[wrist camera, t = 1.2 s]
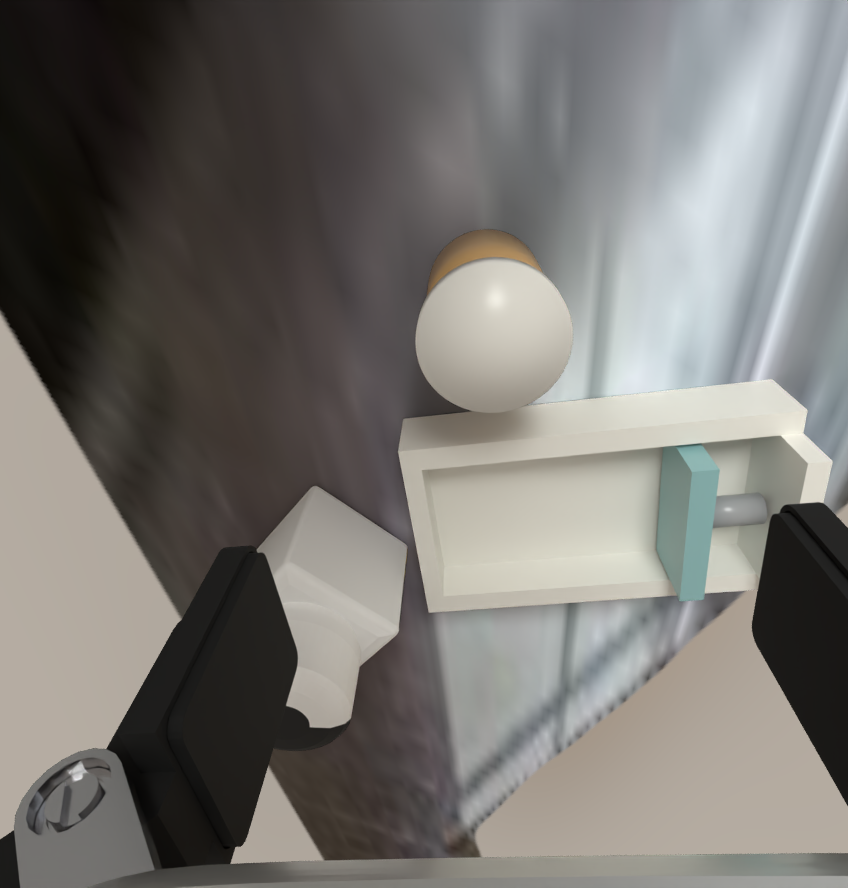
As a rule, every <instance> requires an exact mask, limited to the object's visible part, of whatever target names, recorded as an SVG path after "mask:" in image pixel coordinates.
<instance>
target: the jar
mask: <svg viewBox="0 0 848 888" xmlns="http://www.w3.org/2000/svg"><path fill="white" fill-rule="evenodd" d="M415 344H416V354H417V358H418V362H419V365H420V367H421V370H422V372H423V374H424V376H425V377H426V379H427V381H428V382H429V383H430V385H431V386H432V387H433V388H434V389H435V390H436V391H437V392H438V393H439V394H440V395H441V396H442V397H444V398H445V399H446V400H448V401H450V402H451V403H453V404H455V405H457V406H459V407H462V408H464V409H468V410H471V411H476V412H483V413H500V412H506V411H511V410H514V409H518V408H521V407H523V406H525V405H528V404H530V403H531V402H533V401H535V400H537V399H538V398H539V397H541V396H542V395H543V394H545V393H546V392H547V391H548V390H549V389H550V388H551V387H552V386H553V385H554V384H555V383H556V381H557V380H558V379H559V377H560V376H561V374H562V373H563V371H564V369H565V367H566V365H567V363H568V360H569V357H570V354H571V349H572V344H573V328H572V321H571V317H570V313H569V311H568V308H567V306H566V304H565V302H564V300H563V298H562V296H561V295H560V293H559V291H558V289H557V288H556V287H555V285H554V284H553V283H552V282H551V280H550V279H549V278H548V277H546V276H545V275H544V274H543V272H542V270H541V268H540V266H539V264H538V262H537V261H536V259H535V257H534V255H533V253H532V252H531V251H530V250H529V248H528V247H527V246H526V245H525V244H524V243H523V242H522V241H520V240H519V239H518V238H516V237H514V236H512V235H510V234H508V233H505V232H503V231H498V230H490V229H484V230H476V231H471V232H468V233H466V234H463V235H461V236H459V237H457V238H456V239H454V240H453V241H452V242H450V243H449V244H448V245H447V246H446V247H445V248H444V249H443V250H442V251H441V253H440V254H439V255H438V257H437V258H436V260H435V262H434V264H433V266H432V269H431V272H430V277H429V283H428V290H427V297H426V299H425V301H424V303H423V305H422V308H421V311H420V314H419V318H418V323H417V329H416V341H415Z"/></svg>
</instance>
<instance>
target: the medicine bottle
mask: <svg viewBox="0 0 848 888" xmlns="http://www.w3.org/2000/svg"><path fill="white" fill-rule="evenodd" d="M407 551H408V549H407V545H406V544H405V543H403V542H402V541H400V540H399V539H397V538H396V537H394V536H393V535H391V534H390V533H388V532H387V531H385V530H384V529H382V528H381V527H379V526H378V525H376V524H375V523H373V522H371V521H370V520H368V519H367V518H365V517H364V516H362V515H361V514H359V513H358V512H356V511H355V510H353V509H352V508H350V507H349V506H347V505H346V504H344V503H343V502H341V501H340V500H338V499H337V498H335V497H334V496H332V495H330V494H329V493H327V492H326V491H324V490H323V489H321V488H320V487H318V486H313V487H311V488H310V489H309V491H308V492H307V493H306V494H305V495H304V496H303V497H302V499H301V500H300V501H299V502H298V503H297V504H296V505H295V506H294V508H293V509H292V510H291V511H290V512H289V513H288V514H287V516H286V517H285V518H284V519H283V520H282V521H281V522H280V524H279V525H278V526H277V527H276V528H275V529H274V530H273V531H272V533H271V534H270V535H269V536H268V537H267V538H266V539H265V541H264V542H263V543H262V544H261V545H260V546H259V547H258V548H257V552H258V553H260V552H262V553H264V554H265V555H266V558H267V560H268V563H269V566H270V569H271V572H272V575H273V578H274V581H275V584H276V587H277V590H278V593H279V596H280V599H281V602H282V606H283V609H284V612H285V615H286V618H287V621H288V624H289V627H290V630H291V633H292V636H293V639H294V642H295V645H296V648H297V652H298V665H297V670H296V673H295V677H294V680H293V683H292V687H291V690H290V694H289V697H288V700H287V704H286V707H285V710H284V714H283V717H282V720H281V724H280V727H279V731H278V734H277V737H276V741H275V744H274V747H273V748H274V749H279V750H287V751H303V750H311V749H315V748H319V747H322V746H324V745H326V744H328V743H330V742H332V741H333V740H334V739H336V738H337V737H338V736H339V735H341V734H342V733H343V732H344V731H345V730H346V728H347V727H348V725H349V723H350V720H351V715H352V709H353V703H354V697H355V691H356V685H357V679H358V673H359V667H360V666H361V665H362V664H363V663H364V662H366V661H367V660H368V659H369V658H370V657H371V656H373V655H374V654H375V653H376V652H377V651H378V650H380V649H381V648H382V647H383V646H384V645H385V644H387V643H388V642H389V641H390V640H391V639H392V638H394V637H395V636H396V635H397V634H398V632H399V628H400V618H401V608H402V599H403V589H404V580H405V570H406V561H407Z"/></svg>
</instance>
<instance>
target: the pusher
mask: <svg viewBox="0 0 848 888" xmlns="http://www.w3.org/2000/svg"><path fill="white" fill-rule="evenodd" d="M719 472H720V469H719V468H718V466H717V465H716V464H715V462H714V461H713V459H712V458H711V457H710V455H709V454H708V452H707V451H706V450H705V448H704V447H703V446H702V444H701V443H697V444H687V445H677V446H666V447H663V455H662V470H661V485H660V501H659V516H658V531H657V546H656V550H657V552H658V554H659V557H660V559H661V561H662V563H663V566H664V568H665V570H666V572H667V574H668V577H669V579H670V581H671V583H672V586H673V588H674V590H675V592H676V594H677V597H678V599H679V601H693V600H704V594H705V586H706V578H707V570H708V561H709V553H710V545H711V537H712V529H713V528H720V527H732V526H745V525H757V524H764V523H765V522H766V520H767V506H766V502H765V500H764V498H763V496H762V495H761V494H760V493H758V492H756V493H745V494H733V495H722V496H717V488H718V480H719Z"/></svg>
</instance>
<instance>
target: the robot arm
mask: <svg viewBox="0 0 848 888" xmlns="http://www.w3.org/2000/svg"><path fill="white" fill-rule="evenodd" d="M752 632H753V637H754V639H755V642H756V645H757V647H758V648H759V650H760V652H761V654H762V655H763V657H764V659H765V661H766V662H767V664H768V666H769V668H770V670H771V671H772V673H773V675H774V676H775V678H776V680H777V682H778V684H779V685H780V687H781V689H782V691H783V692H784V694H785V696H786V698H787V700H788V701H789V703H790V705H791V707H792V708H793V710H794V712H795V714H796V715H797V717H798V719H799V721H800V723H801V724H802V726H803V728H804V730H805V731H806V733H807V735H808V736H809V738H810V740H811V742H812V744H813V745H814V747H815V749H816V751H817V752H818V754H819V756H820V758H821V760H822V761H823V763H824V765H825V766H826V768H827V770H828V772H829V774H830V775H831V777H832V779H833V781H834V782H835V784H836V786H837V788H838V790H839V791H840V793H841V795H842V797H843V798H844V800H845V802H846V804H847V805H848V528H847V527H846V526H845V525H844V524H843V523H842V522H841V520H840V519H839V518H838V517H837V516H836V515H835V514H834V513H833V512H832V511H831V510H830V509H829V508H828V507H827V506H826V505H825V504H823V503H820V502H813V503H800V504H787V505H784V506H783V507H782V508H781V510H780V513H777V514H773V515H772V516H771V519H770V523H769V529H768V534H767V540H766V546H765V552H764V557H763V563H762V569H761V575H760V580H759V586H758V592H757V598H756V603H755V609H754V615H753V621H752ZM297 665H298V652H297V648H296V645H295V642H294V639H293V636H292V633H291V630H290V627H289V624H288V621H287V618H286V615H285V612H284V609H283V606H282V602H281V599H280V596H279V593H278V590H277V587H276V584H275V581H274V578H273V575H272V572H271V569H270V566H269V563H268V560H267V558H266V555H265V554H264V553H262V552H260V553H258V552H257V550H256V549H255V547H254V546H241V547H228V548H223V549H222V550H221V551H220V552H219V554H218V556H217V557H216V559H215V561H214V563H213V565H212V566H211V568H210V570H209V572H208V574H207V575H206V577H205V579H204V581H203V583H202V584H201V586H200V588H199V590H198V592H197V593H196V595H195V597H194V599H193V601H192V602H191V604H190V606H189V608H188V610H187V611H186V613H185V615H184V617H183V619H182V620H181V621H180V622H179V623H178V624H177V625H176V627H175V628H174V629H173V632H172V633H171V635H170V637H169V638H168V640H167V642H166V644H165V646H164V647H163V649H162V651H161V653H160V654H159V656H158V658H157V660H156V662H155V663H154V665H153V667H152V669H151V670H150V672H149V674H148V676H147V678H146V679H145V681H144V683H143V685H142V686H141V688H140V690H139V692H138V694H137V695H136V697H135V699H134V701H133V703H132V704H131V706H130V708H129V710H128V711H127V713H126V715H125V717H124V719H123V720H122V722H121V724H120V726H119V727H118V729H117V731H116V733H115V735H114V736H113V738H112V740H111V742H110V743H109V745H108V747H107V749H97V748H93V749H88V750H85V751H80V752H77V753H75V754H73V755H71V756H69V757H67V758H65V759H63V760H61V761H60V762H58V763H57V764H55V765H54V766H53V767H51V768H50V769H48V770H47V771H46V772H45V773H44V774H43V775H42V776H41V777H40V778H39V779H38V780H37V781H36V782H35V783H34V784H33V785H32V786H31V788H30V789H29V790H28V792H27V793H26V795H25V796H24V797H23V799H22V801H21V803H20V805H19V808H18V810H17V812H16V815H15V824H14V831H12V832H11V833H9V834H8V835H6V836H5V837H3V838H2V839H0V888H848V853H799V854H797V853H792V854H702V855H701V854H696V855H695V854H694V855H693V854H692V855H611V856H547V857H546V856H542V857H481V858H427V859H380V860H332V861H292V862H267V863H244V864H230V863H231V859H232V856H233V853H234V850H235V847H237V846H238V847H241V846H242V845H243V844H244V842H245V840H246V838H247V835H248V832H249V828H250V825H251V822H252V818H253V815H254V811H255V808H256V805H257V801H258V798H259V794H260V791H261V788H262V785H263V781H264V778H265V774H266V771H267V768H268V764H269V761H270V758H271V754H272V751H273V747H274V744H275V741H276V737H277V734H278V731H279V727H280V724H281V720H282V717H283V714H284V710H285V707H286V704H287V700H288V697H289V694H290V690H291V687H292V683H293V680H294V677H295V673H296V670H297Z"/></svg>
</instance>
